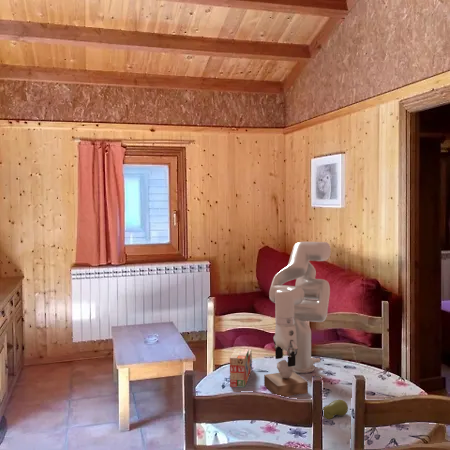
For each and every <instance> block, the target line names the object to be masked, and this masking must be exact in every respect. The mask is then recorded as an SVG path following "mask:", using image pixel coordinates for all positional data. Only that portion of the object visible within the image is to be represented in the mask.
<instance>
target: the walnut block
mask: <svg viewBox="0 0 450 450" xmlns="http://www.w3.org/2000/svg"><path fill="white" fill-rule="evenodd" d="M263 378H264V379H263V381H264V383H263V385H264V387H265V388H266V389H267V390H268V391H270V393H272V394H273V395H274V394H277V395H281V396H286V397H292V396H299V395H305V394H308V393H309V386H308V385H309V382H308V380H306V379H305V378H303V377H302V376H301V375H299V373H295V372H294V371H293V372H292V375H291V376H290V377H289V378H287V379H285V378H283V377H281V375H280V372H274V373H269V374H267V373H266V374H264V377H263Z"/></svg>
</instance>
